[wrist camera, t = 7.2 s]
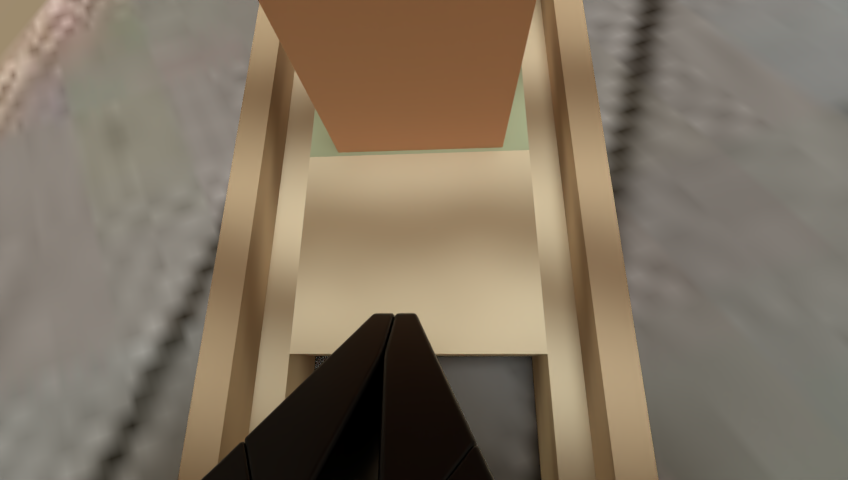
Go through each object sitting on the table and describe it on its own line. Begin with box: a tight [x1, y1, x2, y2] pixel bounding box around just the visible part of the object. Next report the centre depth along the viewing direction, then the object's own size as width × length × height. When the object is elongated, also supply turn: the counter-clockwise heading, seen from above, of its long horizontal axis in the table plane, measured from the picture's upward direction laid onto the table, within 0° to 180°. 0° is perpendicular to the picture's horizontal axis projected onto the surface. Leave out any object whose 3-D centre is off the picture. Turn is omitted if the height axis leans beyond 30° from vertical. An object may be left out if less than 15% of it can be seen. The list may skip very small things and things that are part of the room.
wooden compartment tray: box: [178, 0, 658, 480], centre depth 15 cm, size 30×12×4 cm, turn 0°
